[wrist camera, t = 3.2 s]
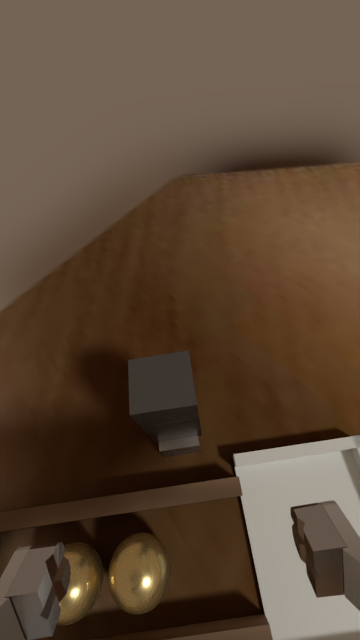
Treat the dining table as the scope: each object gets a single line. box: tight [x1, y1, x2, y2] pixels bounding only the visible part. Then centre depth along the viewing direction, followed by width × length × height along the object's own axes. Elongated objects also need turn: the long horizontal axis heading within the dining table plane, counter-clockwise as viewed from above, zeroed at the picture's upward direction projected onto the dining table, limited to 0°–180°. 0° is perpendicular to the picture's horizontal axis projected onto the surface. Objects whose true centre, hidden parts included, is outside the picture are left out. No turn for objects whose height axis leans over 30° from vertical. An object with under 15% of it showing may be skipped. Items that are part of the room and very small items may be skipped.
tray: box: [232, 435, 360, 640], centre depth 20 cm, size 12×10×2 cm
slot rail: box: [0, 476, 273, 640], centre depth 20 cm, size 9×20×2 cm, turn 97°
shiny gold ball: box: [108, 532, 171, 615], centre depth 19 cm, size 4×4×4 cm
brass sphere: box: [57, 542, 103, 625], centre depth 19 cm, size 4×4×4 cm
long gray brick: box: [128, 351, 202, 457], centre depth 21 cm, size 4×4×11 cm
